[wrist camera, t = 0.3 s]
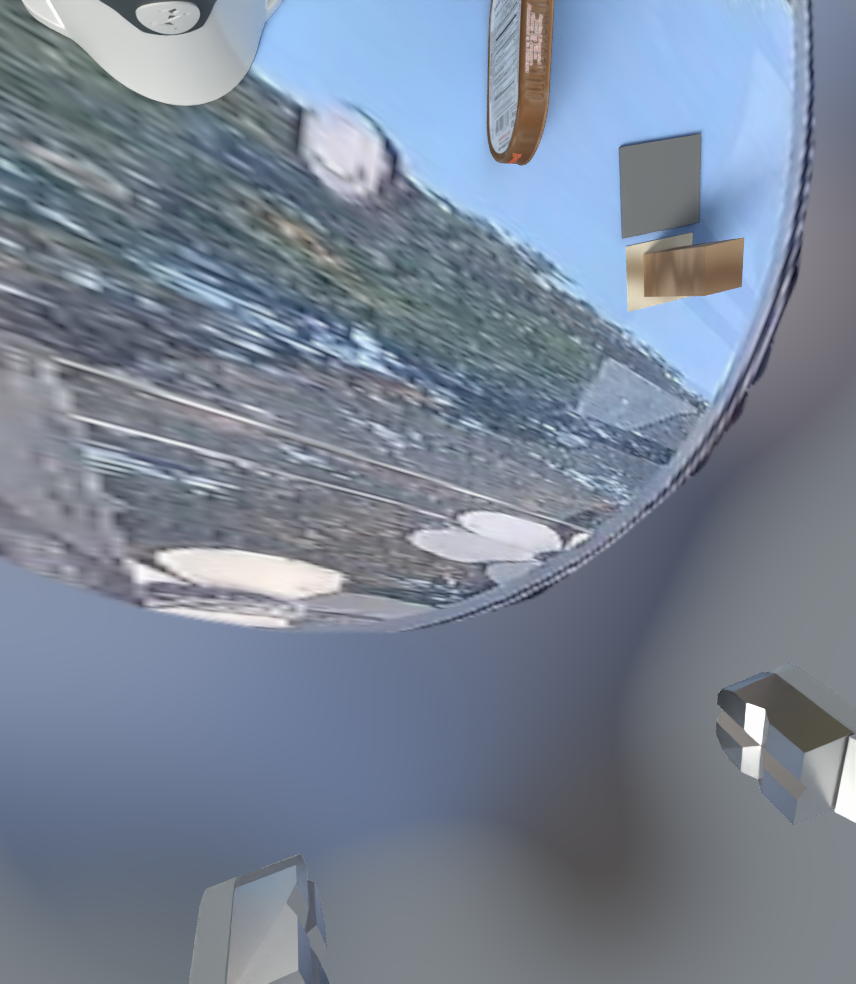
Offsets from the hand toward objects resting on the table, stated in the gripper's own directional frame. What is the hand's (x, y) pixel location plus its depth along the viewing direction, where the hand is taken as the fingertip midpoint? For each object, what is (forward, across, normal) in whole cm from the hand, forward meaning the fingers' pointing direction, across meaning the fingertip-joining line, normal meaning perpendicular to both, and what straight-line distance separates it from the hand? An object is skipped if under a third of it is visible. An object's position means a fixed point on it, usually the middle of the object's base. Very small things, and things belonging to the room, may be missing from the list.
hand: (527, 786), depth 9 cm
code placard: (+49, -41, -4) cm, 64 cm away
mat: (+49, -41, -13) cm, 65 cm away
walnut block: (+49, -41, -4) cm, 64 cm away
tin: (+49, -22, -24) cm, 59 cm away
